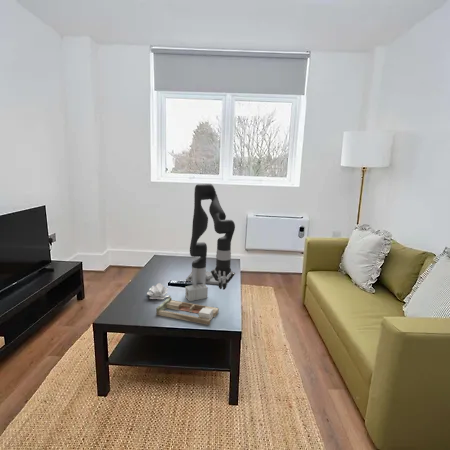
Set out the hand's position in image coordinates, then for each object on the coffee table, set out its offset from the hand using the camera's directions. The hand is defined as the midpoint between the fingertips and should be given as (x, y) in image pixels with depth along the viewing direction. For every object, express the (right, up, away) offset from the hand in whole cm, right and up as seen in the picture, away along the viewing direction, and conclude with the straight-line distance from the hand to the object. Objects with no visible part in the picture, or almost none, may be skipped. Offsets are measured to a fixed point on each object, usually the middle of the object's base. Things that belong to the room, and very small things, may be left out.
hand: (222, 288), depth 168 cm
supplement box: (-22, -9, +29) cm, 38 cm away
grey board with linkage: (-11, -7, +66) cm, 67 cm away
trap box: (-20, -16, +12) cm, 28 cm away
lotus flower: (-41, -12, +32) cm, 53 cm away
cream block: (-9, -18, +6) cm, 21 cm away
